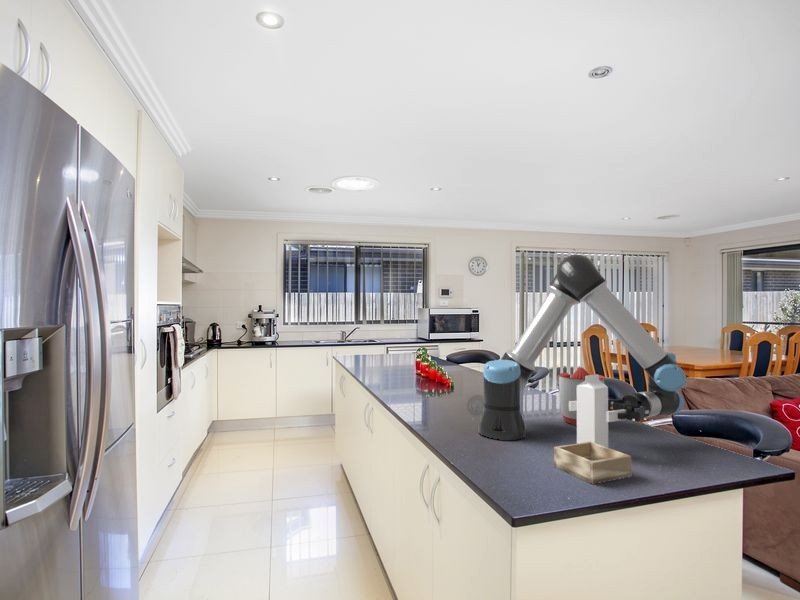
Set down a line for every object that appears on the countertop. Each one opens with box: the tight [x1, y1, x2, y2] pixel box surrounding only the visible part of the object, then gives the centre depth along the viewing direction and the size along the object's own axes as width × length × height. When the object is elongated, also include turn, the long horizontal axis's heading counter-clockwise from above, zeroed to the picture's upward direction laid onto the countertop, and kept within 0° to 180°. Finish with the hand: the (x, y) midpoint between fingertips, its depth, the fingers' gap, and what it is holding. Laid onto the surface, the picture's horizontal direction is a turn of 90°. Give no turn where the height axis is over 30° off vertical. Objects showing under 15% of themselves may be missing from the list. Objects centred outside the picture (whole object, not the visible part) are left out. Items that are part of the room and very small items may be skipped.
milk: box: [576, 374, 609, 448], centre depth 124 cm, size 6×6×22 cm
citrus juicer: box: [558, 366, 606, 426], centre depth 158 cm, size 16×17×20 cm
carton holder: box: [553, 442, 632, 485], centre depth 109 cm, size 13×13×5 cm
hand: (587, 411), depth 123 cm, fingers open, 13 cm apart
